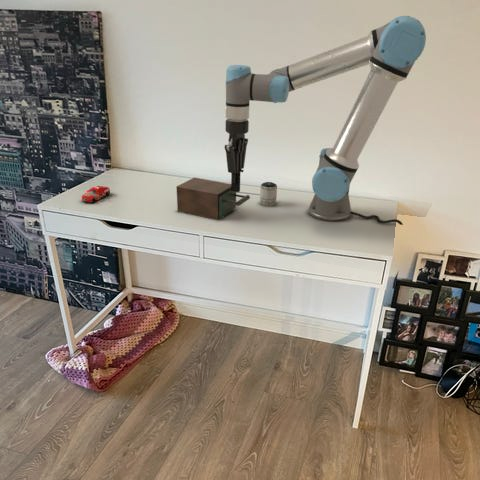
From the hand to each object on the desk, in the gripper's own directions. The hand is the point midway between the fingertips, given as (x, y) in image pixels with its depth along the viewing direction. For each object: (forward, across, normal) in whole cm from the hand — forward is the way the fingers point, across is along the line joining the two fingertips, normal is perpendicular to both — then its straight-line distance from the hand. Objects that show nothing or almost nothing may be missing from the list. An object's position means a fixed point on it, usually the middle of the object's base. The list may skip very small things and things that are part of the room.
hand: (235, 191), depth 169 cm
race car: (+10, +10, -55) cm, 57 cm away
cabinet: (+9, 0, -12) cm, 15 cm away
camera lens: (+10, -18, +5) cm, 21 cm away
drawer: (+8, 0, -7) cm, 11 cm away
